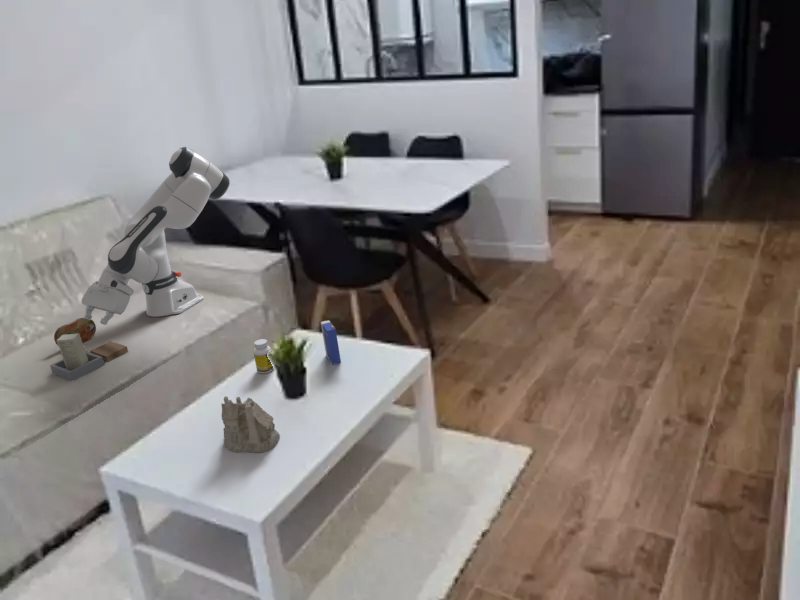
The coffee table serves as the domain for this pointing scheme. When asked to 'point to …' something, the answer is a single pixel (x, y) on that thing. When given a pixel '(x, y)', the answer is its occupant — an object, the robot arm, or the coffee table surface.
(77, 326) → the tin
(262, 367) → the supplement bottle
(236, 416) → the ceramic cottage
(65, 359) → the skincare box
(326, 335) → the walkman
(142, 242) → the robot arm
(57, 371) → the bin
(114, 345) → the riser
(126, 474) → the coffee table surface
